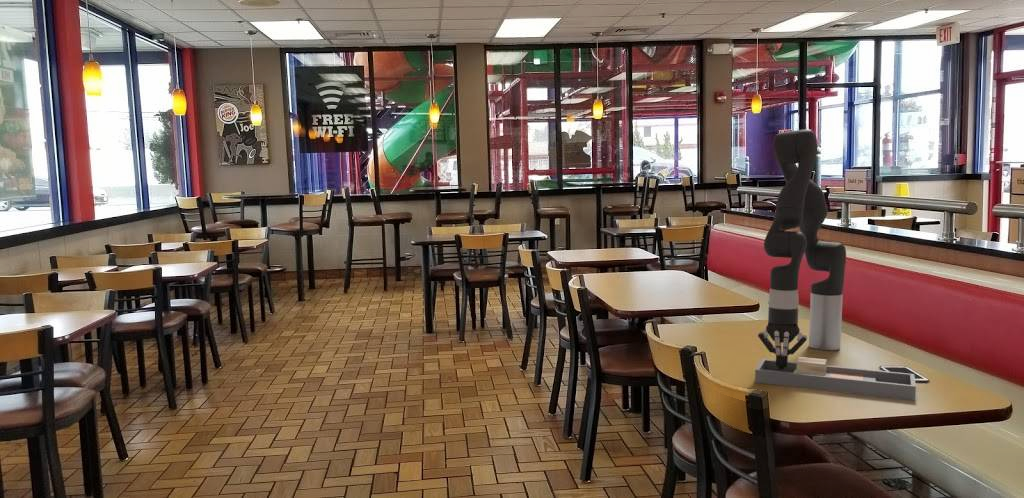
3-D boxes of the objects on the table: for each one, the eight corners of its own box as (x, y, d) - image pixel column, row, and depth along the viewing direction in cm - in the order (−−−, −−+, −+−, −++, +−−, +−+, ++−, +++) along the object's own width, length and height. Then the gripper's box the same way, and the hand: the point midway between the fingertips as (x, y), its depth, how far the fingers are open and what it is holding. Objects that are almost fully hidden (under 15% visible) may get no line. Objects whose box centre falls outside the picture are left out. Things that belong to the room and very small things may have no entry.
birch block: (798, 371, 210) (798, 356, 210) (825, 374, 207) (826, 359, 207) (796, 376, 206) (796, 361, 206) (824, 379, 203) (825, 364, 203)
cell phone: (900, 383, 206) (900, 380, 206) (878, 369, 221) (878, 365, 221) (930, 384, 206) (930, 380, 206) (906, 369, 220) (906, 365, 220)
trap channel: (761, 371, 218) (761, 359, 218) (913, 387, 202) (914, 374, 201) (754, 382, 207) (755, 369, 207) (915, 400, 191) (915, 386, 191)
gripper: (811, 304, 208) (808, 367, 210) (759, 301, 214) (758, 362, 216) (808, 309, 202) (806, 374, 204) (755, 306, 207) (753, 369, 209)
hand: (781, 368), depth 210 cm, fingers closed
